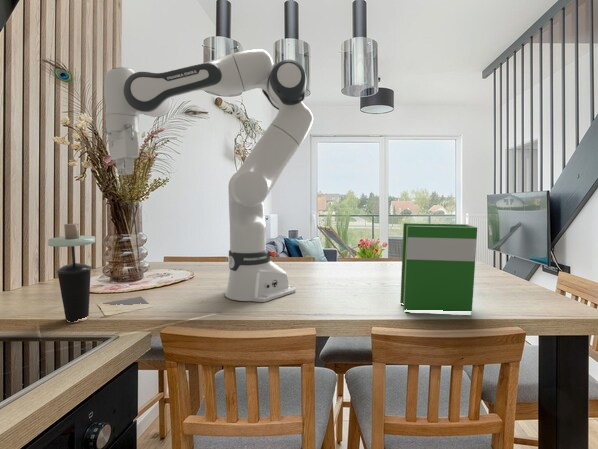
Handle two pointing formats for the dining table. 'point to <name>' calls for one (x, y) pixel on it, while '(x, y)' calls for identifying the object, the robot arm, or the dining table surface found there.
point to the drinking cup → (75, 288)
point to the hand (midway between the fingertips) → (124, 174)
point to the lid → (71, 238)
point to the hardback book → (438, 266)
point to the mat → (129, 301)
